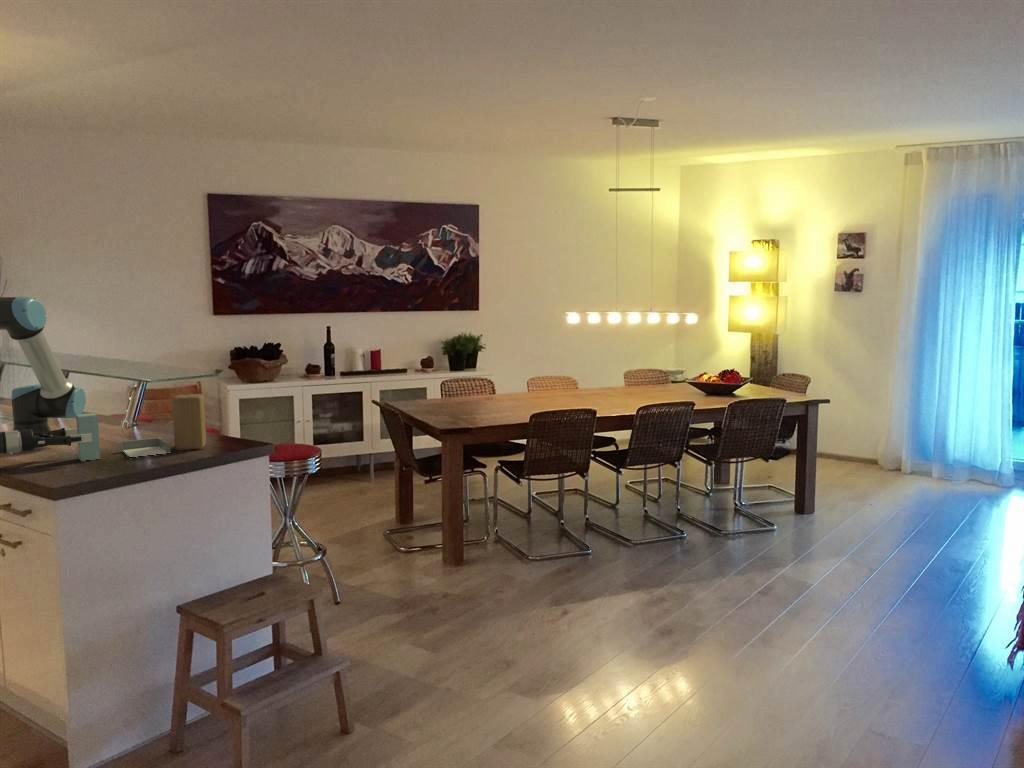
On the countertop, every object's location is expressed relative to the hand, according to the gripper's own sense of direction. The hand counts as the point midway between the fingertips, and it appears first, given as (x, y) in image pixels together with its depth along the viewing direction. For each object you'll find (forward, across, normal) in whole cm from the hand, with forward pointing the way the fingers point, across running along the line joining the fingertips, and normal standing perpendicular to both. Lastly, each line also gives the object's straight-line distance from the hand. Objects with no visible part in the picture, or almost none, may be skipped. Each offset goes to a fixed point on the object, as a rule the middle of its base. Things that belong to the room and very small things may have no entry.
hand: (88, 434), depth 304 cm
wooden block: (+35, -1, -9) cm, 36 cm away
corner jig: (+19, -1, -9) cm, 21 cm away
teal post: (0, 0, -9) cm, 9 cm away
